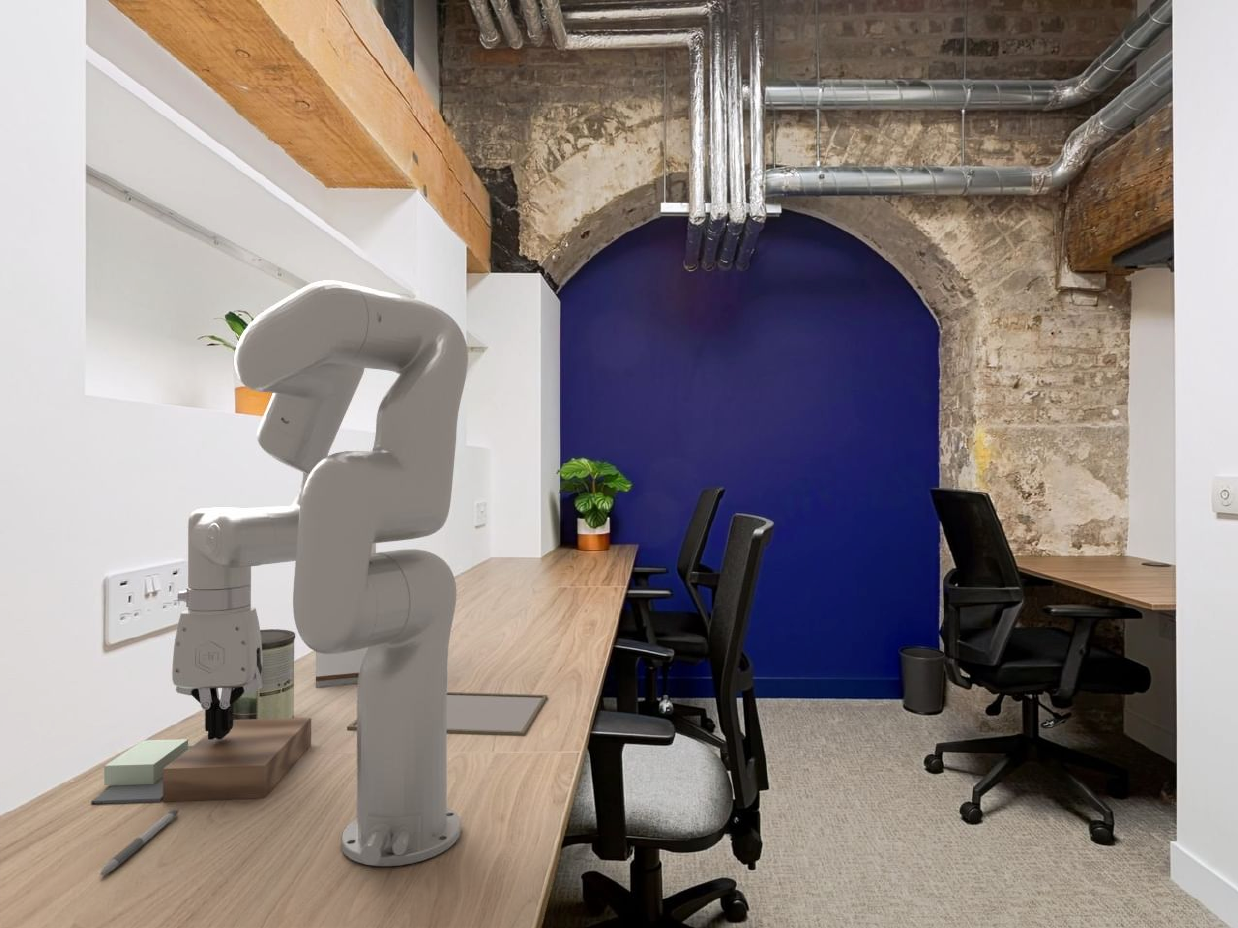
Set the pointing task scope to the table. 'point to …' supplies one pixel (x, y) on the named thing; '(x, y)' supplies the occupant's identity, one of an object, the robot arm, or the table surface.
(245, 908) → the table surface
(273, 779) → the brown wooden flat block
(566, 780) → the table surface
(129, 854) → the pen
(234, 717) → the coffee can
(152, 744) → the block
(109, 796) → the mat
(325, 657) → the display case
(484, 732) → the picture frame
